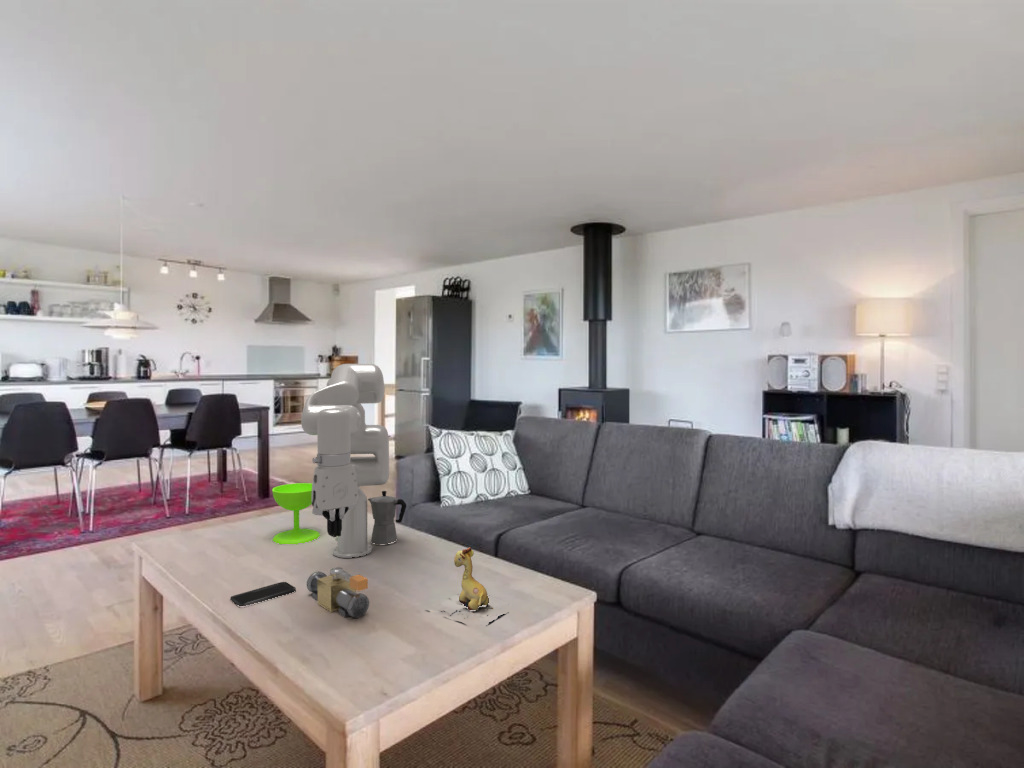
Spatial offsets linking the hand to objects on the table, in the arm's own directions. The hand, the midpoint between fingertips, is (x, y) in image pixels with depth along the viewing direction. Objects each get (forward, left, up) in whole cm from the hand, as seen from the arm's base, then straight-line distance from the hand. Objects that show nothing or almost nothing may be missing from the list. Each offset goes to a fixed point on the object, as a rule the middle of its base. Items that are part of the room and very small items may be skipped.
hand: (334, 535), depth 135 cm
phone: (-28, -6, -22) cm, 36 cm away
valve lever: (-4, +6, -14) cm, 15 cm away
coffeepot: (-43, +43, -22) cm, 65 cm away
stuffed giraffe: (+18, +28, -22) cm, 40 cm away
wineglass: (-70, +23, -22) cm, 77 cm away
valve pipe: (-9, +5, -21) cm, 24 cm away
